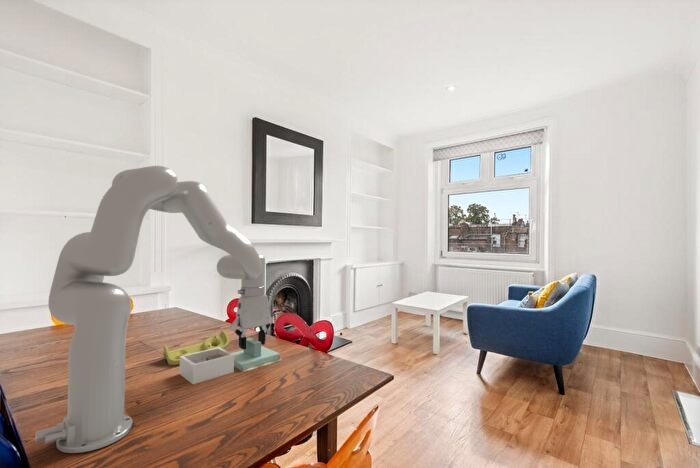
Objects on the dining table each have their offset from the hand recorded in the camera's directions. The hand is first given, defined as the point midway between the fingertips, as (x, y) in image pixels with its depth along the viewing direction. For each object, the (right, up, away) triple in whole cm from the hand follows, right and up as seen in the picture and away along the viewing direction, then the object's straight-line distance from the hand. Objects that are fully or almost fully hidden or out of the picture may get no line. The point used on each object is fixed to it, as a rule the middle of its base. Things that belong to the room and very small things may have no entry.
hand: (252, 345), depth 112 cm
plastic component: (-20, -6, +4) cm, 21 cm away
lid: (0, -5, 0) cm, 5 cm away
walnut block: (-9, -5, -9) cm, 13 cm away
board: (0, -6, 0) cm, 6 cm away
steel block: (-12, -5, -13) cm, 18 cm away
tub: (-10, -5, -11) cm, 16 cm away
